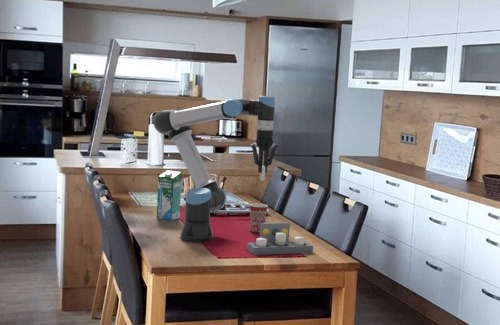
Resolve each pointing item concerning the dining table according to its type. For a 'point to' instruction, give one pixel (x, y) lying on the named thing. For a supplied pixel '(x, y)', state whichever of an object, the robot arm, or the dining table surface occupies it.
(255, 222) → the mug
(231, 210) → the maze game
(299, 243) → the button right
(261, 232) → the card
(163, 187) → the milk carton
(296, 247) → the button board
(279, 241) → the button middle
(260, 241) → the button left
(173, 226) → the dining table surface
